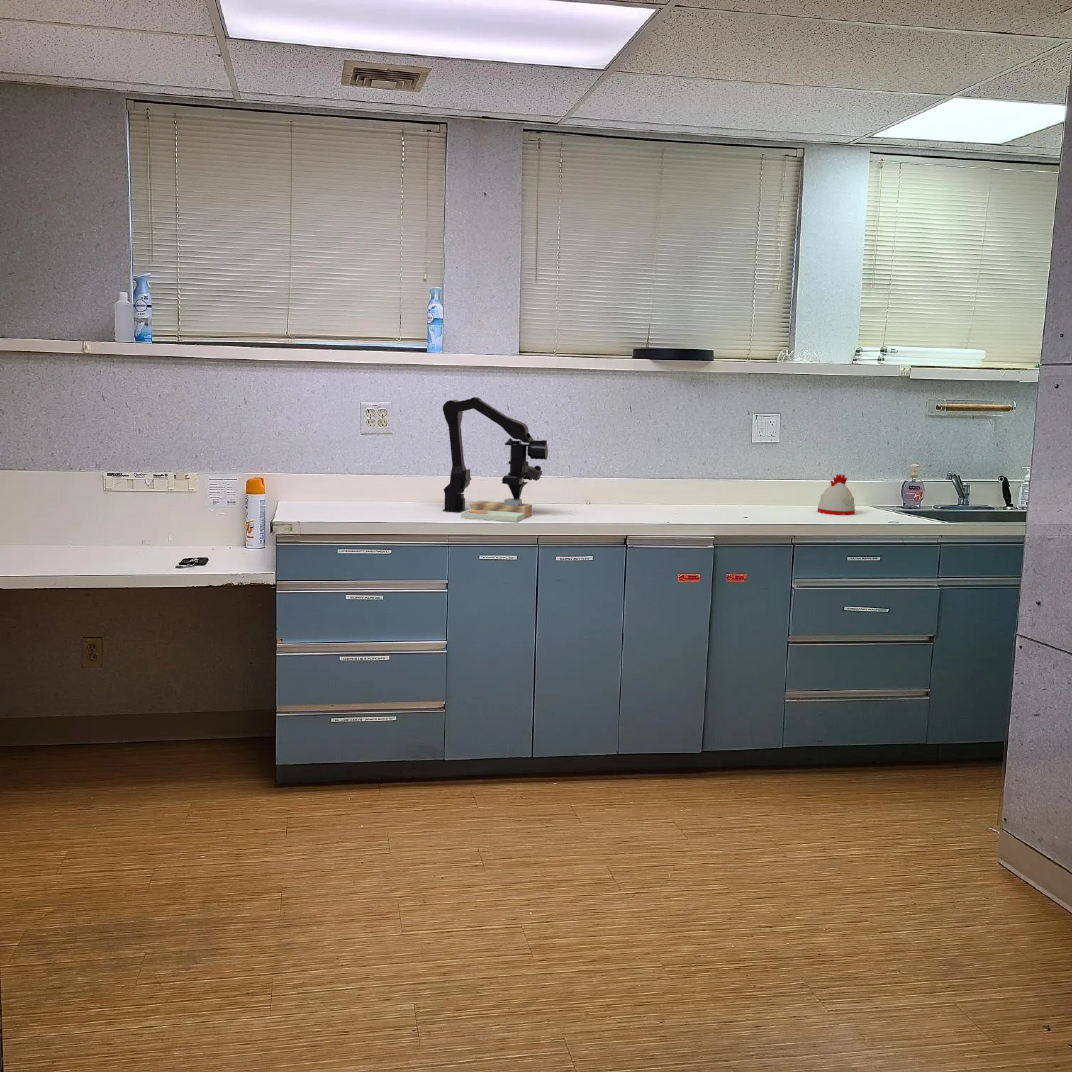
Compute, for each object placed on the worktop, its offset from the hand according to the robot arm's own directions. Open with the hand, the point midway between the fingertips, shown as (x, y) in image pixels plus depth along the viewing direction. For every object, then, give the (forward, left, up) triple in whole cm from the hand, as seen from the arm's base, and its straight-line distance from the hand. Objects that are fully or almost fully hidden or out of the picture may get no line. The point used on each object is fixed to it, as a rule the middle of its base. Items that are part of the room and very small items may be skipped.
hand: (517, 502), depth 383 cm
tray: (-4, -14, -4) cm, 15 cm away
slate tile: (0, -5, 0) cm, 5 cm away
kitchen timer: (+110, +65, -5) cm, 128 cm away
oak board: (-4, -4, -4) cm, 8 cm away
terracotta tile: (-10, -14, -2) cm, 17 cm away
